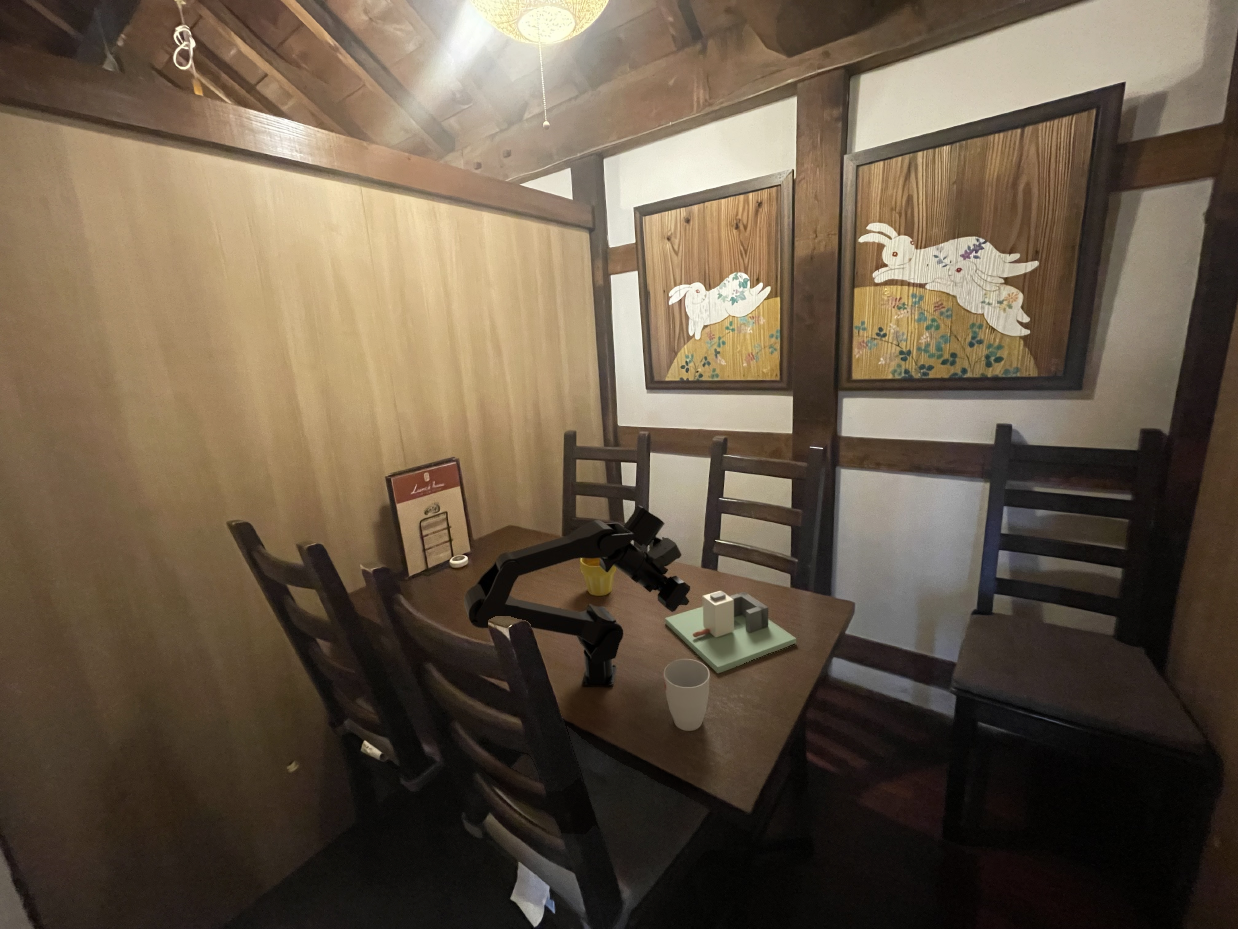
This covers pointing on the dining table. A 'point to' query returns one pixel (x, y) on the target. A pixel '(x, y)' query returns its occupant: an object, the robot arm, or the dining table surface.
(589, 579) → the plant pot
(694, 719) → the cup
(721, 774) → the dining table surface
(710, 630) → the plug
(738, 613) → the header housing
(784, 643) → the board
